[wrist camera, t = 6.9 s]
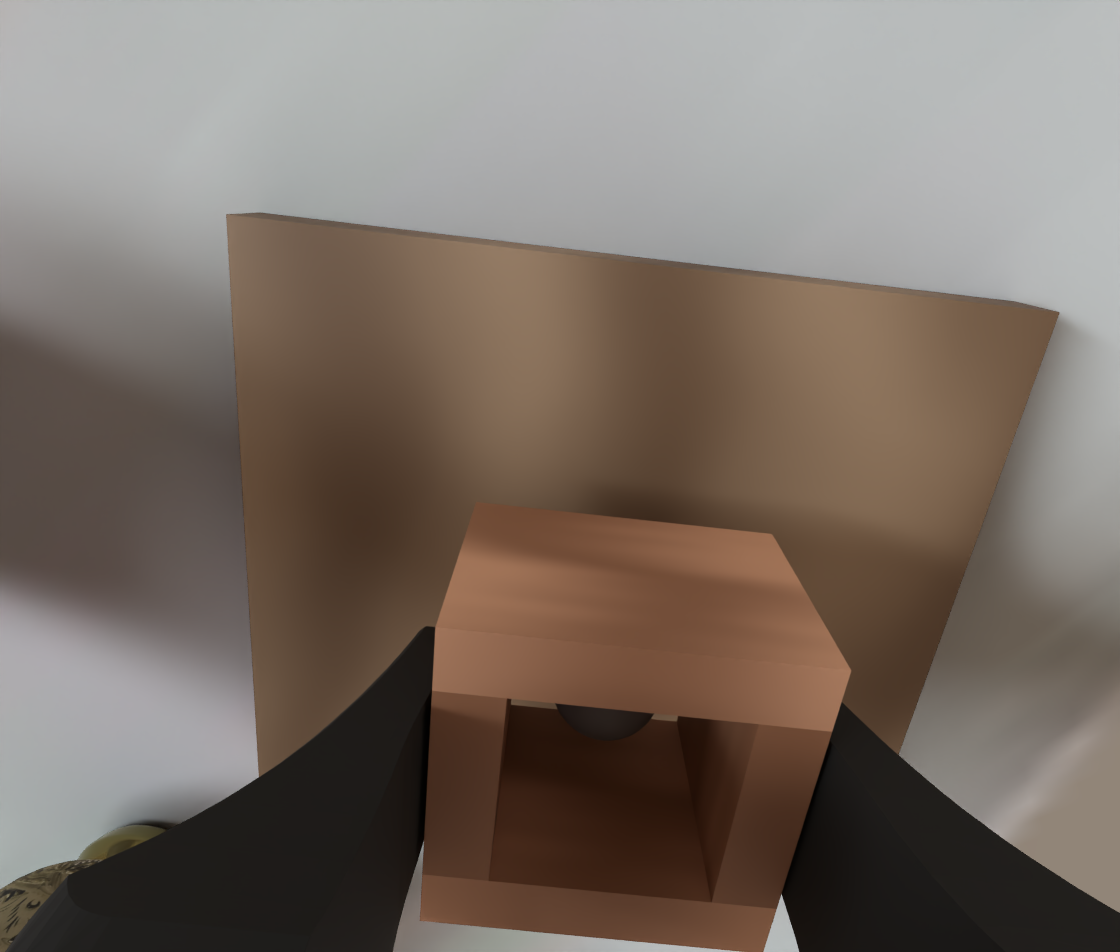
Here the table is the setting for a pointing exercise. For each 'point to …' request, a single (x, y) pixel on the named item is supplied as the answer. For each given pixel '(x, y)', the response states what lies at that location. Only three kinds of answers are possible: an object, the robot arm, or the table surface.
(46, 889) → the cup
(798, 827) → the hollow wooden block
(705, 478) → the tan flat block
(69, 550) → the table surface
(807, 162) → the table surface
